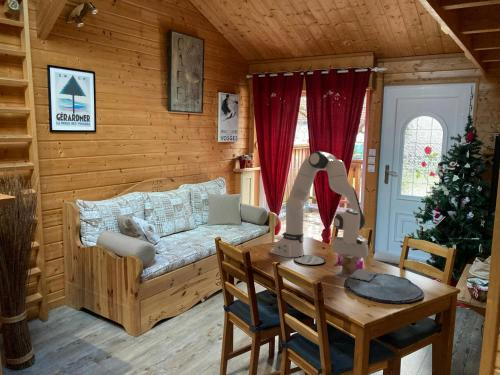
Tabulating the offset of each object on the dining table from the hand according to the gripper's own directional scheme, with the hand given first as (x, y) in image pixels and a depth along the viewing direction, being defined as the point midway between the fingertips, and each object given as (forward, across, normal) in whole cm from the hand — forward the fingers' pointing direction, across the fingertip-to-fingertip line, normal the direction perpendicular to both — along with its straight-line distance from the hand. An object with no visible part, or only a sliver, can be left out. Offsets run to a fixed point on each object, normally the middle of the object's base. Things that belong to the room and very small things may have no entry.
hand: (349, 262), depth 233 cm
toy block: (+7, -4, +14) cm, 16 cm away
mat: (+6, +5, 0) cm, 8 cm away
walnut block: (+5, 0, 0) cm, 5 cm away
